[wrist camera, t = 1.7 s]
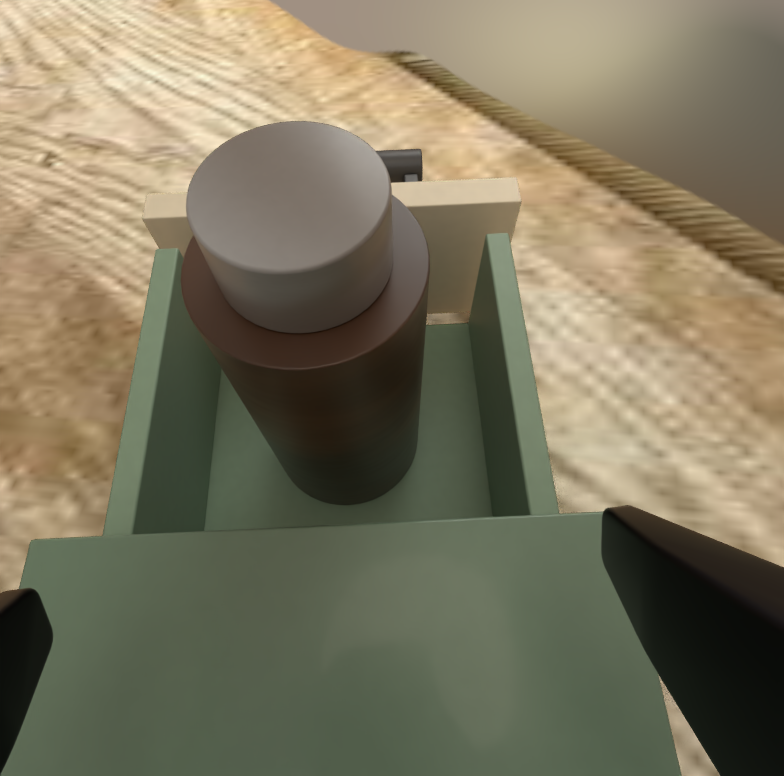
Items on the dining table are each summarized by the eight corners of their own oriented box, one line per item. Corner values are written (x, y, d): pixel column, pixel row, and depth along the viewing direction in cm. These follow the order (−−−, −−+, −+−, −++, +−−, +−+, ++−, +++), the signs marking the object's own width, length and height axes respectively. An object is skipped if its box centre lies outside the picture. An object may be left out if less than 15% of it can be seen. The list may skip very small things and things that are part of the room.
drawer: (215, 233, 27) (162, 113, 21) (479, 221, 27) (501, 98, 21) (167, 614, 20) (62, 594, 14) (536, 595, 20) (596, 567, 14)
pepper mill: (348, 536, 20) (278, 372, 8) (249, 441, 21) (80, 198, 10) (446, 432, 21) (495, 179, 10) (347, 351, 23) (295, 59, 12)
